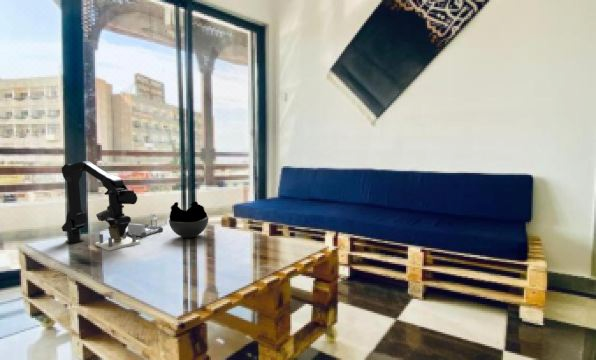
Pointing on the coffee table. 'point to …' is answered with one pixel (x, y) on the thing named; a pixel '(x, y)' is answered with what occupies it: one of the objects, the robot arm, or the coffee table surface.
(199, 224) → the coal bowl
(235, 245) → the coffee table surface
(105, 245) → the peg stand
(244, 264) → the coffee table surface
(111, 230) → the dark brown ornate lampshade
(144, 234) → the toy car
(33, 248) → the coffee table surface
